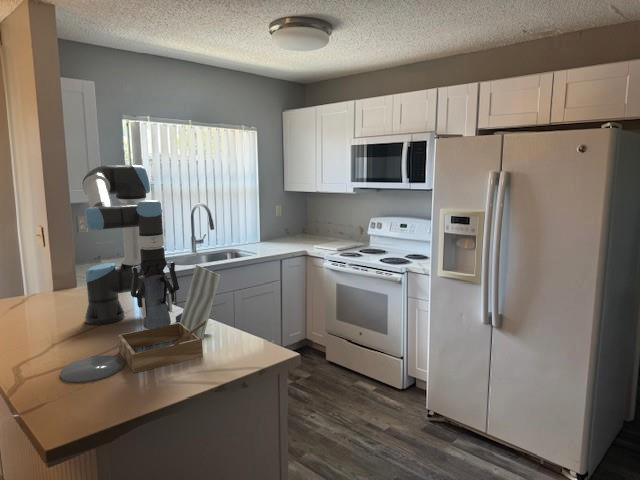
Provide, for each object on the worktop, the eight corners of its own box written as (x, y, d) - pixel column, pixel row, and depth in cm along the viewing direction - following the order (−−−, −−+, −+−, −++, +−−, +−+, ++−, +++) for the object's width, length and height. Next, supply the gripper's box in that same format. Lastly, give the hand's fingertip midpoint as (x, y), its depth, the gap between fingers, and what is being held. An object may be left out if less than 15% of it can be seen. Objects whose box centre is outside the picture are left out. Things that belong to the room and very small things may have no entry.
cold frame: (119, 351, 161) (112, 276, 157) (201, 332, 178) (197, 264, 174) (134, 373, 143) (127, 289, 139) (224, 350, 160) (220, 274, 156)
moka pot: (158, 317, 166) (154, 262, 162) (184, 326, 156) (180, 268, 153) (133, 324, 158) (128, 267, 155) (158, 334, 149) (154, 274, 145)
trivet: (57, 367, 149) (57, 364, 149) (117, 353, 159) (117, 351, 159) (64, 388, 134) (63, 384, 134) (129, 371, 144) (129, 368, 144)
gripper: (121, 252, 144) (127, 323, 148) (187, 245, 155) (191, 310, 159) (116, 249, 150) (121, 316, 154) (179, 242, 162) (183, 305, 165)
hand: (157, 313), depth 156 cm, fingers closed on moka pot, 8 cm apart
